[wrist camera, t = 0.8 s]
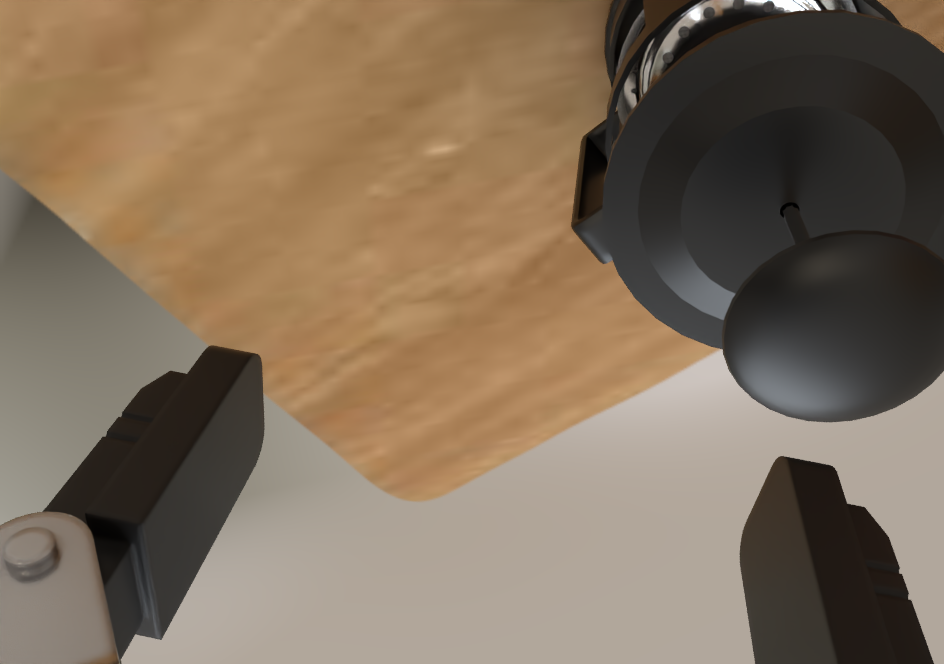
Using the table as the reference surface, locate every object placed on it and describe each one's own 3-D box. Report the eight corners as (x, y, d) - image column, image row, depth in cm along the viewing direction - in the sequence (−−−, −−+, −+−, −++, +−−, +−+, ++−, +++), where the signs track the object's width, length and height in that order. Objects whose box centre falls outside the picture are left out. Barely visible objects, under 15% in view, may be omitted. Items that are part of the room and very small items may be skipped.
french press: (776, -162, 30) (1052, -94, 11) (900, 42, 33) (1287, 378, 14) (529, 48, 35) (419, 341, 16) (655, 206, 38) (688, 609, 19)
